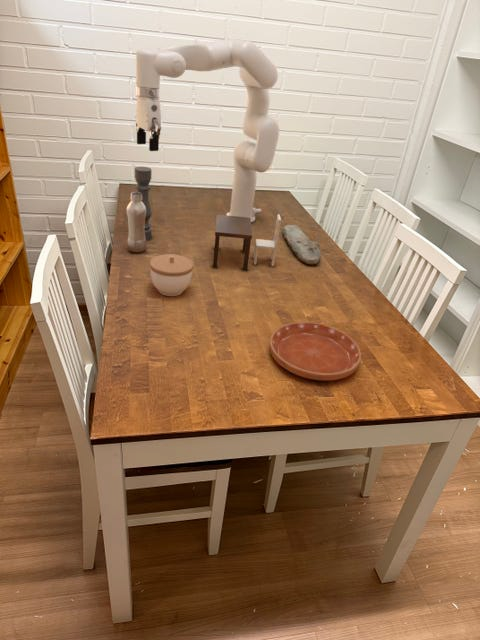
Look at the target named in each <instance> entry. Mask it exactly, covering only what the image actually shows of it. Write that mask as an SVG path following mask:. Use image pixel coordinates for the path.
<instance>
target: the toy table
mask: <svg viewBox="0 0 480 640" xmlns="http://www.w3.org/2000/svg"><path fill="white" fill-rule="evenodd" d="M214 229H215V230H214V236H215V238H214V248H213V249H214V250H213V257H212V259H213V260H212V268H213V269H217V268H218V261H219V250H220V249H219V248H220V238H221V237H226V238H235V239H243V241H242V250H241V251H242V253H244V257H243V264H242V271H244V272H245V271H246V272H247V271H248V265H249V259H250V249H251V243H252V240H253V228H252V223H251V218H247V217H238V216H228V215H226V214H219V213H218V214H216V219H215V228H214Z"/></svg>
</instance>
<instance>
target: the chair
mask: <svg viewBox="0 0 480 640" xmlns="http://www.w3.org/2000/svg"><path fill="white" fill-rule="evenodd" d="M281 224H282V218H281V214H279V213H277V216H276V221H275V227H274V235H273V240H272V239H271V240H269V239H261V238H256V239H255V244H254V249H253V256H252V257H253V265H257V262H258V255H259V254H258V253H259V249H266V250H271V253H270V261H271V265H270V266H271V267H275V260H276V255H277V249H278V243H279V236H280V230H281Z"/></svg>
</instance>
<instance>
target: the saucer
mask: <svg viewBox="0 0 480 640" xmlns="http://www.w3.org/2000/svg"><path fill="white" fill-rule="evenodd" d="M269 351H270V354H271V357H272V358H273V359H274V361H275V362H276V363H277V364H278V365H279V366H280V367H282V368H283V369H285V370H286V371H288V372H290V373H291V374H294V375H296V376H298V377H302V378H306V379H309V380H314V381H315V380H316V381H337V380H340V379H341V380H342V379H345V378H347V377H349V376H351V375H353V374H354V373H355V372H356V370H357V369H358V368H359V366H360V364H361V363H360V362H361V359H362V352H361V349H360V347H359V345H358V343H357V342H356V341H355V340H354V339H353V338H352V337H350V336H349V335H348V334H346V333H345V332H343V331H341V330H339V329H337V328H335V327H333V326H330V325H326V324H324V323H323V324H322V323H319V322H311V321H296V322H289V323H285V324H284V325H281V326H279V327H278V328H276V329H275V330H274V331H273V332H272V334H271V335H270V339H269Z"/></svg>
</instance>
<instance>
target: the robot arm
mask: <svg viewBox="0 0 480 640" xmlns="http://www.w3.org/2000/svg"><path fill="white" fill-rule="evenodd" d="M228 68H239V69H238V75H239V78H240V79H241V82H242V83H243V84H244V86H245V89H246V92H247V101H246V107H245V112H244V118H243V123H242V132H243V134H244V135H245V136H246V137H247V138H249V139H252V140H254V141H256V143H255V142H253V141H250V140H242V141H240V142H238V143H237V144H236V146H235V147H234V149H233V156H232V157H233V181H232V189H231V197H230V208H229V211H228V212H227V213H226V214H225V215H228V216H238V217H247V218H251V224H252V223H254V222H255V221H256V216H255V215H256V214H261V213H262V209H261V208H256V207H254V202H255V196H256V186H257V178H258V175H257V173H265V172H267V171H268V170H269V169H270V168H271V166H272V165H273V161H274V158H275V153H276V149H277V145H278V141H279V138H280V137H279V136H280V126H279V123H278V121H277V120H276V119H275V118H274V117H271V116H269V115H268V114H269V109H270V103H271V94H270V89H272V88H274V86H276V84H277V82H278V77H279V74H278V70H277V67H276V65H275V64H274V63H273V62H272V60H271V59H269V57H268V56H267V55H266V54H265V53H264V52H263V51H262V50H261V48H260V47H258V46H257V44H256V43H254V42H253V41H251V40H247V39H241V38H228V39H221V40H214V41H208V42H200V43H198V42H197V43H191V44H181V45H179V44H178V45H172V46H166V47H160V48H156V49H147V48H139V49H137V50H136V52H135V97H136V108H135V109H136V111H135V117H134V119H135V127H136V128H135V132H136V145H146V144H147V132H148V134H149V138H148V139H149V140H148V150H149V152H158V151H159V149H160V148H159V147H160V146H159V144H160V143H159V142H160V136H161V131H162V111H161V103H160V101H161V100H160V94H161V93H160V88H161V77H166V78H171V79H176V78H179V77H181V76H183V74H184V73H185V71H196V72H213V71H217V70H222V69H228Z"/></svg>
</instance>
